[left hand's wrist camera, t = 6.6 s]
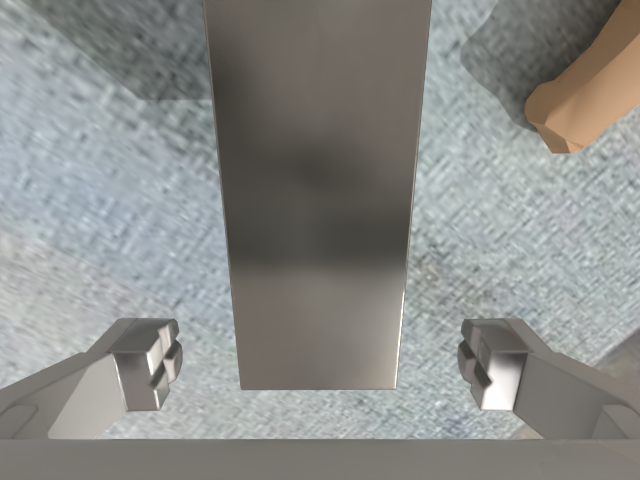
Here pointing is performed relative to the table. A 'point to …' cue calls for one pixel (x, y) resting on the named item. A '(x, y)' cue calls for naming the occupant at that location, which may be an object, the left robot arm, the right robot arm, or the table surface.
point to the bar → (317, 182)
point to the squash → (591, 86)
